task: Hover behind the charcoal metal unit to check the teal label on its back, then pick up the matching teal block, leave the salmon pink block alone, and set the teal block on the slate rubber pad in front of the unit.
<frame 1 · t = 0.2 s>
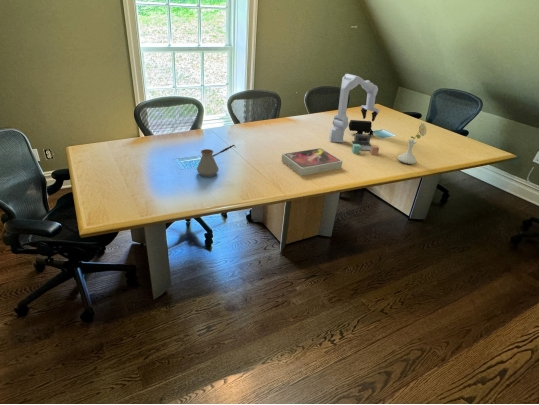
hand: (368, 119, 250), 11 cm above the table, tool pointing down, fingers open, 7 cm apart
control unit: (361, 143, 236), on the table
salmon pink block: (373, 153, 222), on the table
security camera: (359, 134, 253), on the table
coffee pot: (216, 172, 185), on the table
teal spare: (355, 152, 222), on the table
flower in vase: (407, 162, 214), on the table
product packaging: (310, 165, 202), on the table
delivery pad: (363, 148, 229), on the table
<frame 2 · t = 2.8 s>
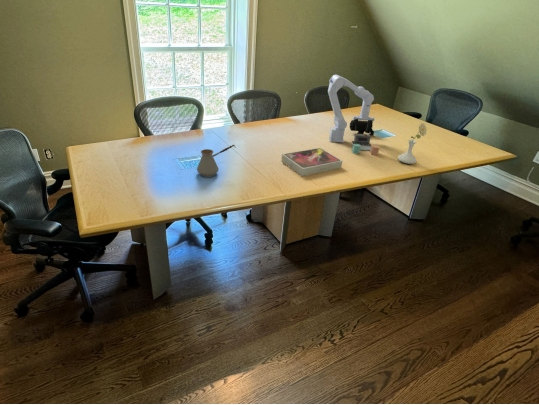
hand: (361, 130, 238), 8 cm above the table, tool pointing down, fingers open, 7 cm apart
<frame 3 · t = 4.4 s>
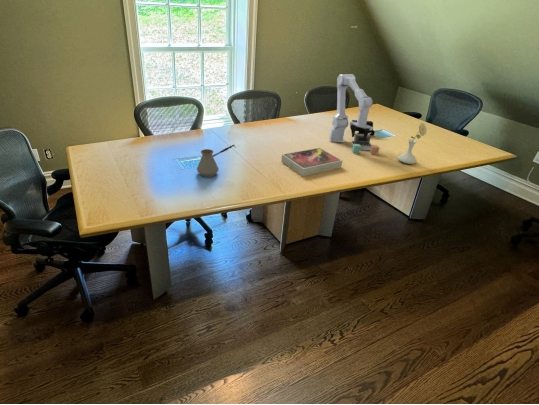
hand: (358, 138, 217), 9 cm above the table, tool pointing down, fingers open, 7 cm apart
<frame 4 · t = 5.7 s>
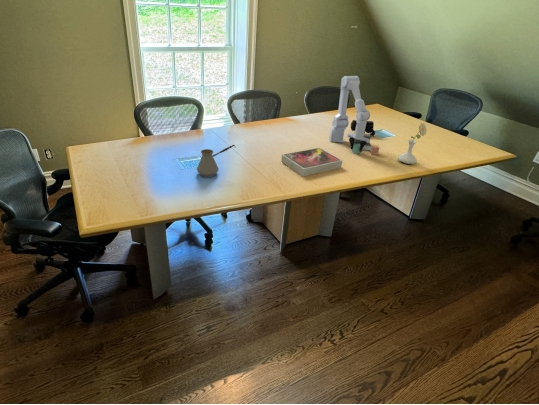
hand: (355, 150, 221), 1 cm above the table, tool pointing down, fingers closed on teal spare, 6 cm apart
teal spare: (355, 152, 222), on the table, touching gripper
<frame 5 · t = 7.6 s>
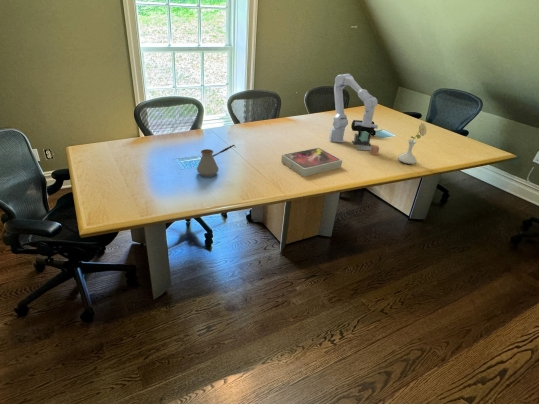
hand: (363, 137, 222), 8 cm above the table, tool pointing down, fingers closed on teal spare, 5 cm apart
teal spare: (363, 139, 223), point 7 cm above the table, touching gripper
when the fingers open (3 cm above the table, at t = 9.3 s): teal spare drops 1 cm, resting on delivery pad.
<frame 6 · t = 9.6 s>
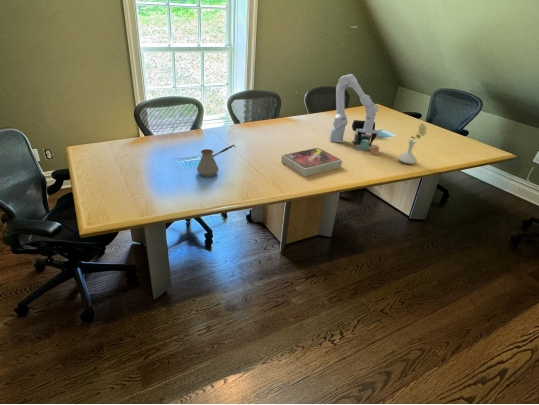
hand: (364, 143, 227), 3 cm above the table, tool pointing down, fingers open, 7 cm apart
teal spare: (364, 147, 228), point 1 cm above the table, touching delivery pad
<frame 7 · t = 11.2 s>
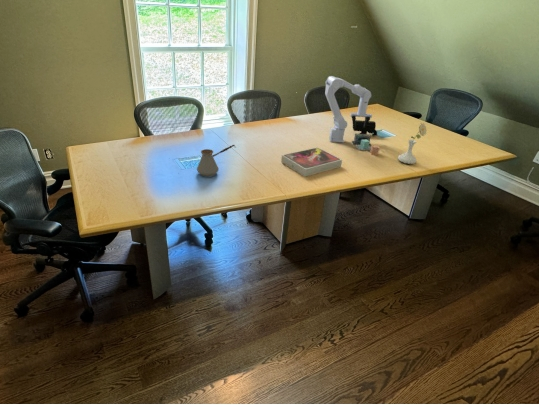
hand: (358, 127, 238), 9 cm above the table, tool pointing down, fingers open, 7 cm apart
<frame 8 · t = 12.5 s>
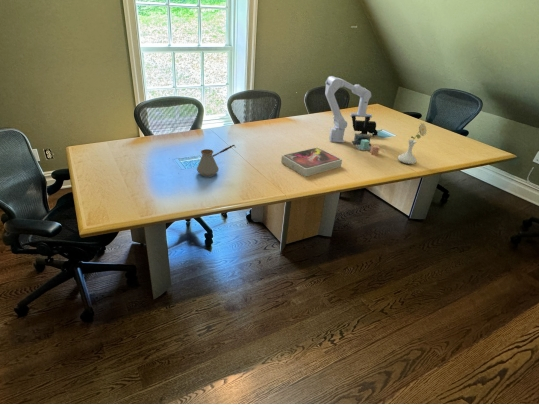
hand: (358, 127, 238), 9 cm above the table, tool pointing down, fingers open, 7 cm apart
at the end: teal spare 0.2 cm off-centre on the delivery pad, point 0.6 cm above the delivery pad's base; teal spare tilted 0°; salmon pink block moved 0.1 cm from its start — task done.
